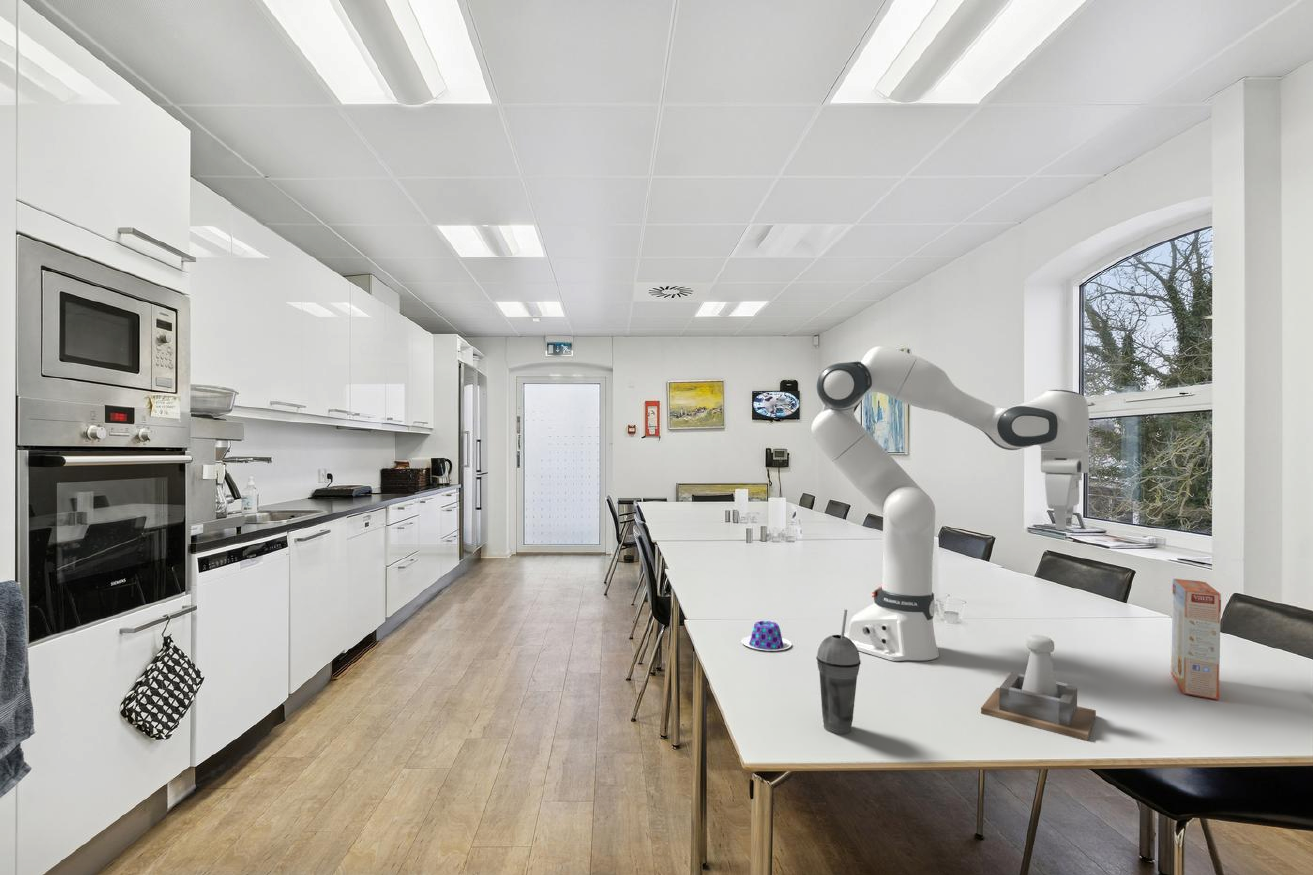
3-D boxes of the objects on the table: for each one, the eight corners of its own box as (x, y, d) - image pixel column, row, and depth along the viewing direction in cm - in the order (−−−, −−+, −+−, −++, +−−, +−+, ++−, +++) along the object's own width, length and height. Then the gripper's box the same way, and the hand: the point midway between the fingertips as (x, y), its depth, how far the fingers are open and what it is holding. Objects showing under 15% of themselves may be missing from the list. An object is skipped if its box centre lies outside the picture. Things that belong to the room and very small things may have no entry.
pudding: (735, 638, 157) (736, 617, 157) (782, 637, 159) (782, 616, 159) (748, 654, 145) (748, 631, 145) (798, 653, 147) (799, 630, 147)
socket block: (981, 713, 114) (981, 685, 114) (997, 692, 124) (997, 666, 124) (1087, 740, 104) (1088, 710, 104) (1095, 715, 114) (1096, 688, 114)
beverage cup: (809, 719, 110) (811, 604, 111) (849, 718, 111) (851, 604, 111) (823, 738, 103) (825, 615, 103) (867, 737, 104) (868, 615, 104)
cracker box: (1221, 701, 122) (1222, 593, 122) (1181, 694, 125) (1182, 588, 125) (1206, 679, 134) (1207, 580, 134) (1170, 673, 137) (1171, 577, 137)
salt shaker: (1048, 703, 117) (1049, 632, 117) (1065, 716, 111) (1066, 642, 111) (1015, 701, 117) (1016, 631, 117) (1030, 714, 112) (1031, 640, 112)
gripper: (1054, 463, 148) (1054, 522, 148) (1039, 464, 132) (1039, 530, 132) (1087, 464, 144) (1086, 525, 143) (1075, 465, 128) (1075, 533, 128)
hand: (1063, 527), depth 138 cm, fingers open, 8 cm apart
